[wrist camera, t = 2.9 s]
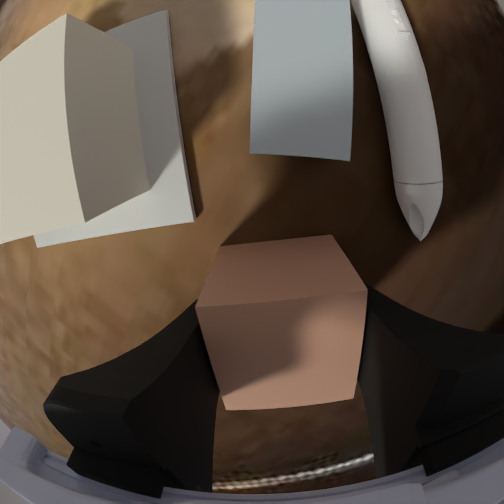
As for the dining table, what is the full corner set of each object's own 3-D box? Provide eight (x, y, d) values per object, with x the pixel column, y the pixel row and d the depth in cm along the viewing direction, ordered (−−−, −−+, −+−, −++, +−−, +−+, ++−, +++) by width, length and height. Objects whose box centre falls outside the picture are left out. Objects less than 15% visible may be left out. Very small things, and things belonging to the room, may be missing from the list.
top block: (331, 234, 11) (367, 289, 7) (331, 325, 13) (353, 398, 8) (220, 246, 11) (195, 307, 7) (236, 334, 13) (226, 409, 9)
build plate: (168, 12, 8) (165, 9, 7) (196, 218, 11) (193, 221, 11) (18, 86, 8) (13, 86, 8) (41, 245, 12) (37, 247, 11)
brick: (258, 14, 8) (255, -16, 6) (333, 20, 8) (348, -6, 6) (253, 151, 10) (249, 153, 8) (331, 157, 10) (349, 161, 8)
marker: (428, 229, 11) (456, 248, 9) (389, 237, 11) (413, 258, 9) (333, -87, 5) (341, -110, 2) (295, -88, 5) (298, -113, 3)
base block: (132, 48, 8) (66, 13, 4) (150, 189, 10) (85, 222, 6) (30, 99, 9) (-39, 100, 4) (46, 215, 11) (-19, 249, 7)
